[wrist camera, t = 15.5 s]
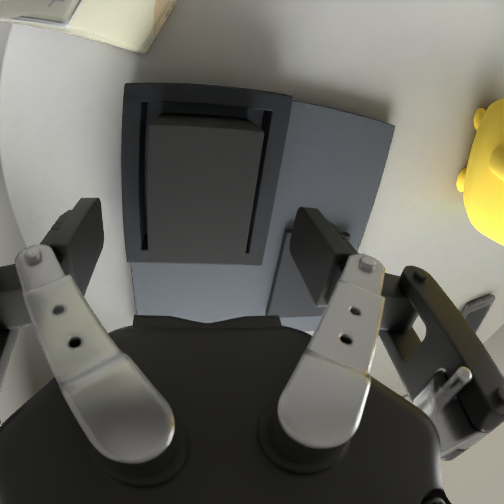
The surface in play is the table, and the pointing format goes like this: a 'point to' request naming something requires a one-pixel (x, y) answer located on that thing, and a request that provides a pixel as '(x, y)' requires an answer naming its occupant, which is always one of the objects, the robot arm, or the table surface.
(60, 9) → the box
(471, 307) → the cell phone
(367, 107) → the table surface
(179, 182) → the black block
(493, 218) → the teapot
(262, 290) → the base pad
